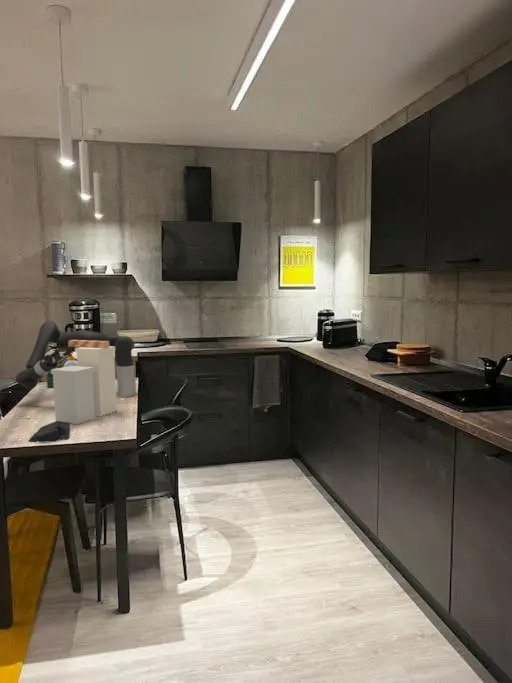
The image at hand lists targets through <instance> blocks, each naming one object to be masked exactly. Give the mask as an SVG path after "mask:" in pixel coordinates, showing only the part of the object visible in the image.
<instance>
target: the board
mask: <svg viewBox="0 0 512 683" xmlns="http://www.w3.org/2000/svg"><path fill="white" fill-rule="evenodd" d="M67 345H68V347H69V348H80V347H85V348H109V341H91V340H70V341H68V344H67Z"/></svg>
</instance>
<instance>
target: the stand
mask: <svg viewBox="0 0 512 683" xmlns="http://www.w3.org/2000/svg"><path fill="white" fill-rule="evenodd" d="M74 353H76V361H77V366H81V367H94V372H93V391H94V411H95V415H96V416H95V417H99V416H101V417H104V416H107V415H110V414H113V413H116V412H117V411H118V410H117V409H118V408H117V392H116V391H117V388H116V387H117V386H116V369H115V368H116V365H115V346H109V348H85V347H74ZM115 411H116V412H115ZM112 412H113V413H112ZM109 413H110V414H109ZM106 414H107V415H106ZM103 415H104V416H103Z"/></svg>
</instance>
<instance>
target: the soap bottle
mask: <svg viewBox="0 0 512 683" xmlns="http://www.w3.org/2000/svg"><path fill="white" fill-rule="evenodd" d="M73 353H74V351H73V352H72V353H71V356H70V357H68V358H67V361H65V363H64V365H63V367H68V366H77V360H76V359H75V356H73Z"/></svg>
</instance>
